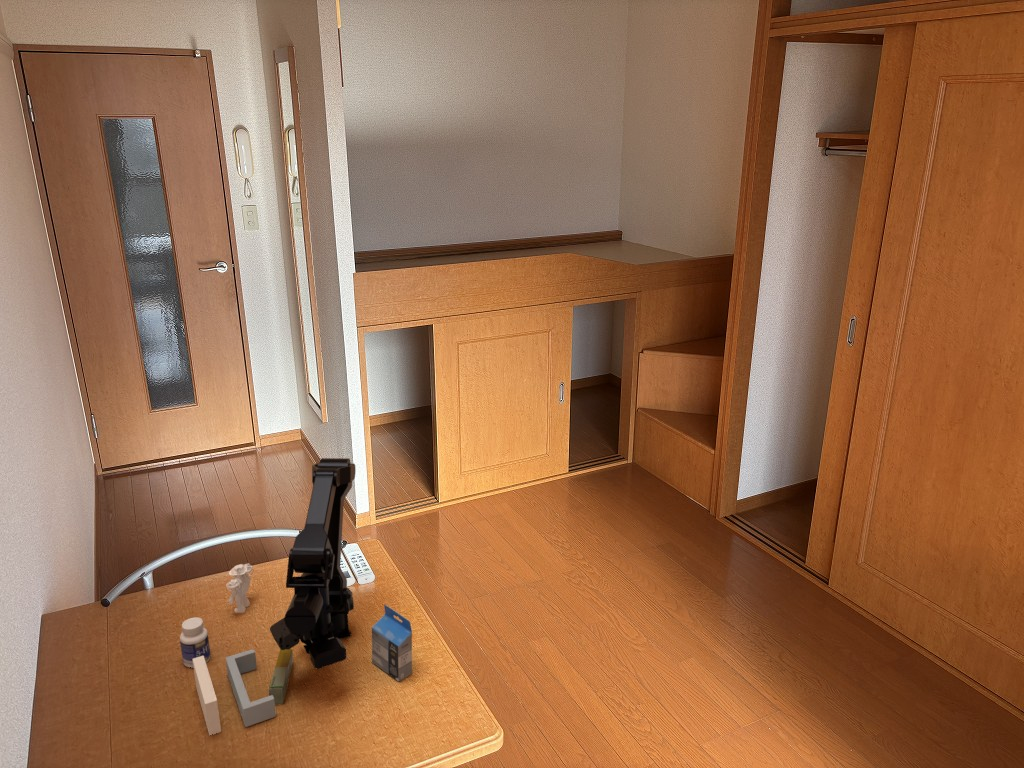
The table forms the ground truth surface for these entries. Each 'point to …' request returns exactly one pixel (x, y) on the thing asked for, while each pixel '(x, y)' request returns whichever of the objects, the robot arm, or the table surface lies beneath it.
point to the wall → (206, 695)
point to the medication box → (281, 676)
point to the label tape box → (392, 645)
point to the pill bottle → (194, 641)
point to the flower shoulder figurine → (240, 586)
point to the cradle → (248, 710)
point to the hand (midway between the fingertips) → (319, 667)
